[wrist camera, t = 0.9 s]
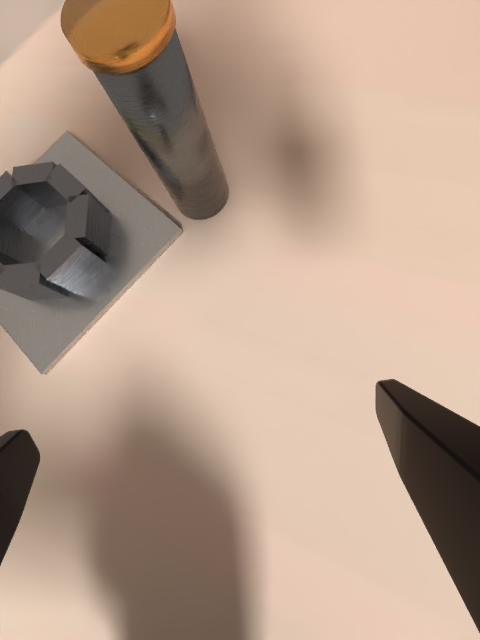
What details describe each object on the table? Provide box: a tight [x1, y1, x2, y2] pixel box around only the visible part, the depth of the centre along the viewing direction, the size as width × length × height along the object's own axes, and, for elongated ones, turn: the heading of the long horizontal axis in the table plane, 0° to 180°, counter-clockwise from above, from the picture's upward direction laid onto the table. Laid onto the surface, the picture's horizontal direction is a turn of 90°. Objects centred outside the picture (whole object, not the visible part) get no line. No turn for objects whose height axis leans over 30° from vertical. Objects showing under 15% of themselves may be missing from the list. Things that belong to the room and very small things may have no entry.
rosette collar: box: [0, 132, 183, 374], centre depth 26 cm, size 14×14×4 cm
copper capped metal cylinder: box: [61, 0, 229, 220], centre depth 20 cm, size 4×4×13 cm
